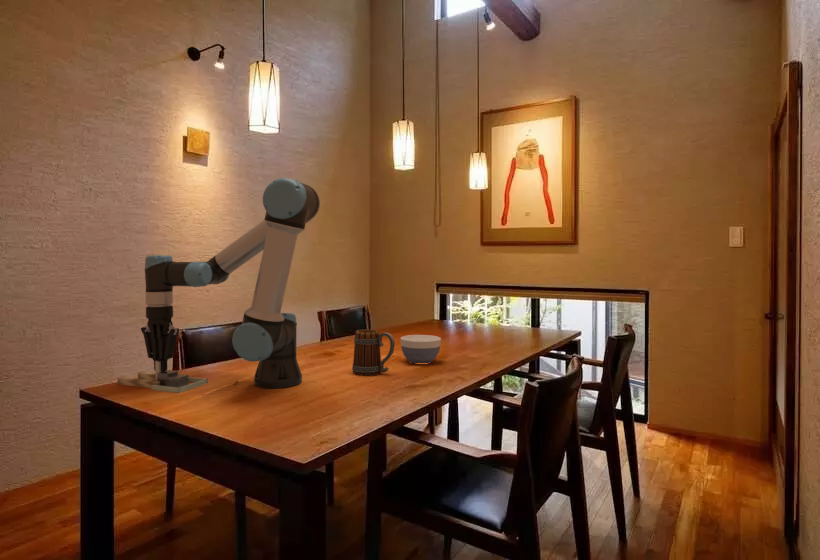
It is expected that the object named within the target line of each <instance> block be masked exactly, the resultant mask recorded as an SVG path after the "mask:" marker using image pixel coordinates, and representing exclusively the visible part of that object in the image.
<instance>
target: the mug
mask: <svg viewBox="0 0 820 560" xmlns="http://www.w3.org/2000/svg"><path fill="white" fill-rule="evenodd" d="M383 337H386V338H388V340H389V343H390V345H389V351H388V353H387V355H386V356H385V357H384V358H383V359H382V357H381V347H383V346H384V343H383ZM353 341H354V349H353V361H352V369H351V370H352V373H353V374H354V375H356V376H360V375H362V376H361V377H369V376H370V377H371V375H373V376H378V375H380V374H381V373H386V372H388V371H389V367H388V366H386V367H384V366H385V364H386V362H387V361H388V360H389V359H390V358H391V357H392V355H393V354H394V351H395V339H394V336H393V335H392V334H391V333H389V332H382V333H380V332H379V330H377V329H357V330H356V331H355V335H354V340H353ZM379 373H380V374H379ZM377 374H378V375H377Z"/></svg>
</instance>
